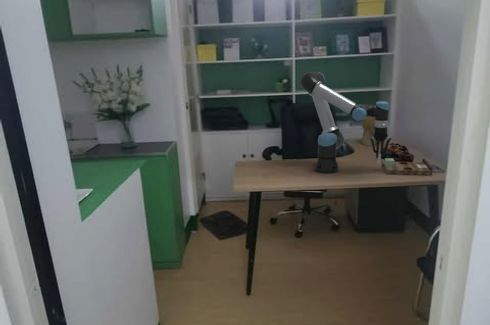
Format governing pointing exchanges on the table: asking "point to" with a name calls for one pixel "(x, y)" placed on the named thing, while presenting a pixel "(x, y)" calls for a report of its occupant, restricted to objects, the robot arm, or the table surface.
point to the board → (409, 168)
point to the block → (389, 162)
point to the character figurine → (398, 153)
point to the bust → (368, 130)
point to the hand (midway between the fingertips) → (378, 163)
